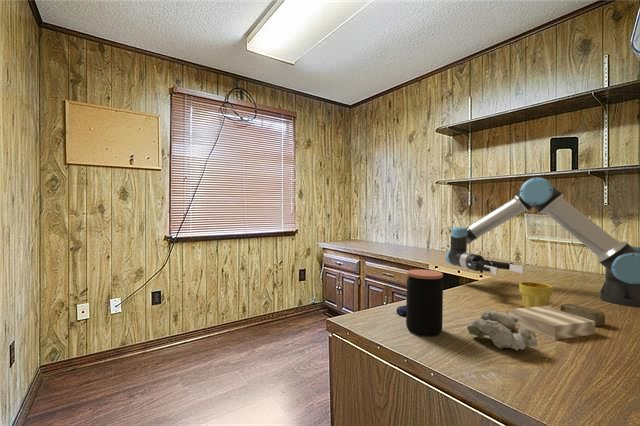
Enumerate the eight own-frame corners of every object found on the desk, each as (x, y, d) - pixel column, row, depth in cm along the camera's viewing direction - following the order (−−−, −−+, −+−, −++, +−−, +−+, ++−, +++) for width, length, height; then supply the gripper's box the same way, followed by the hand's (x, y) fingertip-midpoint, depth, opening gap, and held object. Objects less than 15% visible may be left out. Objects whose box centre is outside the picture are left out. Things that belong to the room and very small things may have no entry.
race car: (398, 319, 110) (398, 306, 110) (389, 313, 117) (389, 301, 117) (437, 316, 114) (437, 303, 114) (426, 310, 120) (426, 299, 120)
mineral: (525, 355, 77) (535, 316, 80) (457, 330, 91) (467, 297, 94) (539, 366, 84) (548, 329, 87) (474, 341, 98) (483, 310, 101)
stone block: (597, 328, 103) (597, 313, 103) (557, 317, 113) (558, 303, 113) (606, 326, 106) (606, 310, 106) (567, 315, 116) (567, 301, 116)
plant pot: (521, 312, 118) (522, 286, 118) (516, 304, 128) (516, 280, 128) (555, 316, 114) (556, 289, 114) (547, 308, 124) (547, 283, 124)
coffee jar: (441, 326, 103) (442, 270, 102) (442, 339, 93) (443, 277, 92) (407, 322, 106) (408, 268, 106) (404, 334, 96) (405, 274, 96)
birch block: (544, 317, 113) (544, 305, 113) (594, 334, 98) (594, 321, 98) (508, 321, 109) (508, 309, 109) (554, 339, 93) (555, 326, 93)
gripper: (493, 268, 155) (533, 278, 134) (449, 270, 148) (485, 281, 128) (493, 253, 155) (534, 260, 134) (450, 254, 148) (485, 262, 127)
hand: (510, 270), depth 131 cm, fingers open, 13 cm apart
